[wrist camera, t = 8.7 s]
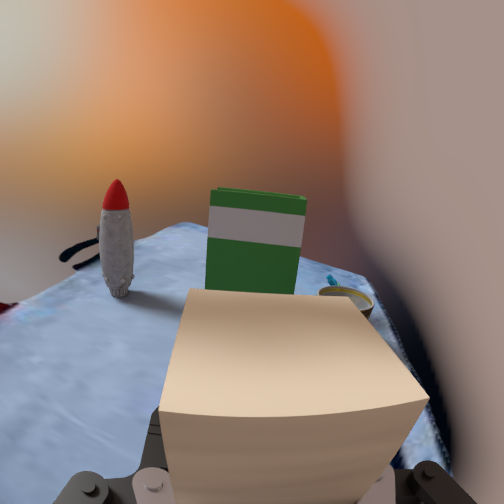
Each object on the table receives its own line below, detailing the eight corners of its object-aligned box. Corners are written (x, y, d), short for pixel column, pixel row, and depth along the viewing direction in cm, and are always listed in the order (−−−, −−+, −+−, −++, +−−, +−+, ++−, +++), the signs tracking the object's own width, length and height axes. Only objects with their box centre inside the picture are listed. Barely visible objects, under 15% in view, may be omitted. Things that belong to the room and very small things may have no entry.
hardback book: (204, 307, 61) (211, 189, 55) (211, 293, 69) (218, 187, 62) (289, 318, 61) (307, 199, 54) (288, 303, 68) (303, 196, 61)
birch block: (301, 559, 8) (429, 397, 5) (192, 562, 7) (158, 410, 4) (286, 486, 13) (347, 296, 9) (195, 486, 12) (189, 288, 9)
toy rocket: (105, 285, 65) (103, 177, 58) (138, 287, 67) (138, 178, 60) (96, 299, 58) (92, 180, 51) (132, 301, 60) (131, 180, 53)
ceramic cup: (347, 331, 56) (358, 285, 54) (369, 360, 47) (385, 309, 44) (284, 334, 54) (292, 284, 52) (299, 366, 45) (311, 311, 42)
